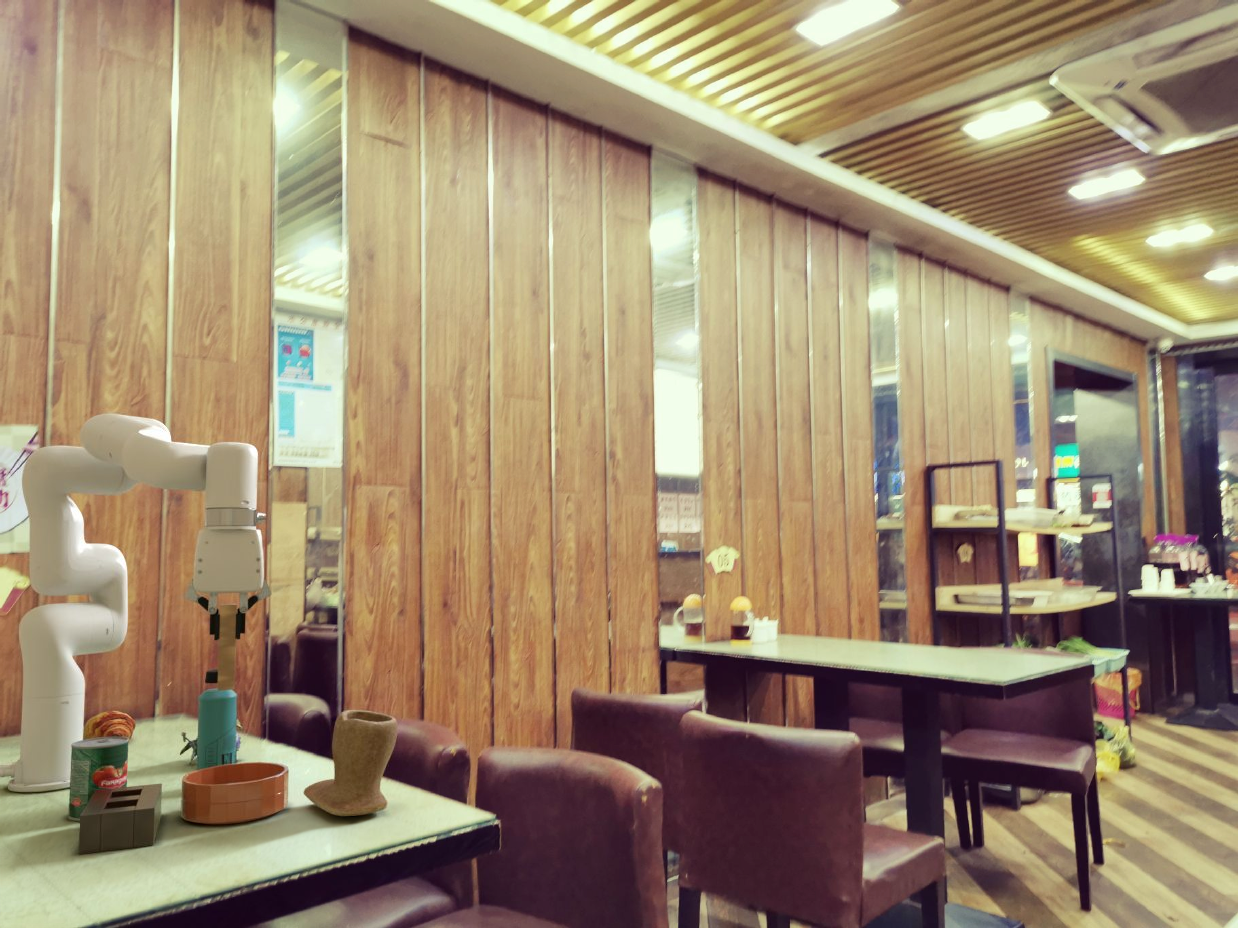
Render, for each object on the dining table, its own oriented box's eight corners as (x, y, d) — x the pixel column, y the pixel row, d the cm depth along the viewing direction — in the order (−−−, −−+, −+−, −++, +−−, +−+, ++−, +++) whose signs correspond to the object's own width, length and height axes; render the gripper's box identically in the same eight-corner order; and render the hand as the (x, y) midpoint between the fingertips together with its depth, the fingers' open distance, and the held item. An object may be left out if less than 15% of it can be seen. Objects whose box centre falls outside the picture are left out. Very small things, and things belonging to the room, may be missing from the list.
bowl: (178, 832, 133) (179, 789, 134) (183, 806, 147) (184, 767, 147) (290, 819, 139) (291, 778, 139) (284, 795, 153) (285, 758, 153)
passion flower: (232, 789, 179) (247, 743, 175) (171, 785, 174) (185, 738, 170) (234, 747, 189) (249, 702, 184) (177, 742, 184) (190, 696, 180)
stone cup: (407, 813, 141) (408, 712, 142) (329, 826, 134) (331, 721, 136) (374, 793, 154) (375, 701, 155) (301, 804, 147) (303, 708, 148)
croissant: (82, 751, 208) (64, 721, 206) (127, 725, 214) (110, 695, 212) (105, 764, 192) (86, 732, 190) (152, 735, 198) (134, 703, 196)
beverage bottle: (221, 792, 155) (224, 671, 157) (186, 791, 157) (189, 671, 159) (244, 783, 162) (246, 667, 164) (210, 782, 163) (213, 667, 165)
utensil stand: (78, 854, 124) (79, 815, 124) (93, 824, 138) (95, 789, 138) (153, 845, 127) (154, 807, 128) (160, 816, 141) (162, 783, 142)
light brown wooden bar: (217, 690, 142) (220, 604, 143) (217, 688, 144) (220, 604, 145) (234, 689, 143) (236, 604, 144) (234, 687, 145) (236, 603, 146)
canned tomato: (115, 819, 140) (118, 745, 141) (59, 822, 139) (62, 747, 140) (133, 805, 148) (136, 735, 149) (80, 808, 147) (83, 737, 148)
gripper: (283, 522, 152) (280, 634, 151) (175, 521, 146) (171, 639, 144) (286, 520, 145) (283, 638, 144) (173, 519, 139) (168, 643, 137)
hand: (227, 638), depth 144 cm, fingers closed on light brown wooden bar, 2 cm apart
